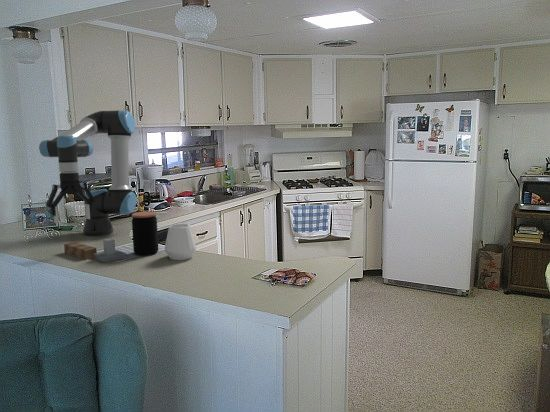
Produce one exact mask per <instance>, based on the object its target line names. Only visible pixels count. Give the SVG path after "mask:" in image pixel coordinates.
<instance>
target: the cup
mask: <svg viewBox="0 0 550 412" xmlns="http://www.w3.org/2000/svg"><path fill="white" fill-rule="evenodd" d="M196 251H197V245H196V242H195V239H194V235H193V231H192V228H191V225H190V224H188V223H174V224H171V225H169V226H168V229H167V236H166V239H165V244H164V252H165V253H166V254H167V256H168V258H169V259H170V260H173V261H184V260H189V259H191V258H193V255H194V254H195V252H196Z"/></svg>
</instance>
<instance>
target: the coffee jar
mask: <svg viewBox="0 0 550 412" xmlns="http://www.w3.org/2000/svg"><path fill="white" fill-rule="evenodd" d="M131 217H132V219H131V229H132V230H131V231H132V243H133V244H132V245H133V246H132V247H133V248H132V249H133V253H134V254H135V256H139V257H145V256H146V257H148V256H152V255H153V256H154V255H156V254H157V253H158V251H159V239H158V238H159V237H158V235H159V234H158V218H157V212H156V211H137V212H134V213H133V212H132V213H131Z"/></svg>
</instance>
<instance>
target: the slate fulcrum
mask: <svg viewBox="0 0 550 412" xmlns="http://www.w3.org/2000/svg"><path fill="white" fill-rule="evenodd" d="M102 242H103V251H100V252H99V251H98V252H97V253H94V254H93V255H94V258H93V259H95V260H97V261H100V262H101V263H104V264H105V263H109V262H114V261H118V260H122V259H127V253H126V252H124V251H121V250H119V249H116V242H115V239H114V238H108V239H107V238H106V239H103V241H102Z"/></svg>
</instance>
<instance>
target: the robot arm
mask: <svg viewBox="0 0 550 412" xmlns="http://www.w3.org/2000/svg"><path fill="white" fill-rule="evenodd" d="M135 131H136V120H135V118H134V116H133V115H132V113H131V112H130V111H128V110H122V109H121V110H120V109H119V110H99V111H96V112H92V113H90V114H88V115H86V116H85V117H83V118H81V120H80V121H79V123H77V124H76V125H74V126H72V127H71V128H69V129H68V130H66V131H64V132H62V133H61V134H60V135H57V136H56V137H54V138H53V139H50V140H49V139H47V140H42V141H41V142H40V143H39V146H38V150H39V153H40V155H41V156H42V157H45V158H58V170H59V172H60V173H59V184H52V185H51V186H52V187H51V191H50V195H49V197H48V199H47V201H46V203H45V207H47V208H50V211H51V212H50V213H51V216H52V217H53V220H54V221H53V222H54V224H60V223H59V213H58V210H59V209H58V207H57V206H58V205H59V203H60V202H61V200H62V199H63V198H64V197H65V196H66V195H71V194H73V195H74V194H76V195H77V196H79V197H80V198H81V199H82V200H83V202H84V204H83V205H84V213H85V222H84V225H83V228H82V233H83V235H84V236H88V237H89V236H90V237H91V236H92V237H93V236H94V237H95V236H103V235H104V236H105V235H106V236H107V235H110V234H112V233H113V232H114V228H113V224H112V222H111V219H110V215H121V216H123V215H130V214H133V212H134V211H135V208H136V206H137V201H138V200H137V195H136V193H135V192H133V188H132V187H130V180H129V179H130V177H129V175H130V174H129V171H130V170H129V169H130V168H129V140H130V139H131V138H132V134H134V133H135ZM96 134H97V135H98V134H107V138H109V139H110V156H111V159H110V160H111V161H110V165H111V173H110V174H111V185H110V187H109V188H108V190H107V189H105V188H102V189H96V190H90V189H89V187H88V183H87V182H85V181H82V182H80V176H79V175H80V174H79V162H78V161H79V159H78V158H87V157H89V156H91V155H92V154H93V152H94V145H93V144H92V142H91V141H89V140H86V139H87V138H88V137H92V136H95V135H96ZM80 188H82V189H83V190H84V193H83V192H82V191H81V190H80ZM59 189H61V190H60V192H59V193H58V195H57V197H56V194H57V192H58V190H59Z"/></svg>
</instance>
